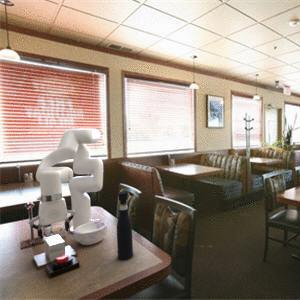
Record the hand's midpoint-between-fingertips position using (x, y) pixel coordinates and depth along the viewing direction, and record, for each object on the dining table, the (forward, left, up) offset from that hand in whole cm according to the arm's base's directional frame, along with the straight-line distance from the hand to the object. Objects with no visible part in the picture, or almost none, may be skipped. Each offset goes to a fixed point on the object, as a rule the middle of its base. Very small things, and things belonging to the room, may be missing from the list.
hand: (54, 234), depth 106 cm
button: (0, +13, -7) cm, 15 cm away
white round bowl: (-17, -6, -11) cm, 21 cm away
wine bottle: (-22, +23, -11) cm, 34 cm away
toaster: (0, 0, -10) cm, 10 cm away
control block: (0, +13, -11) cm, 17 cm away
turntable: (0, 0, -11) cm, 11 cm away
